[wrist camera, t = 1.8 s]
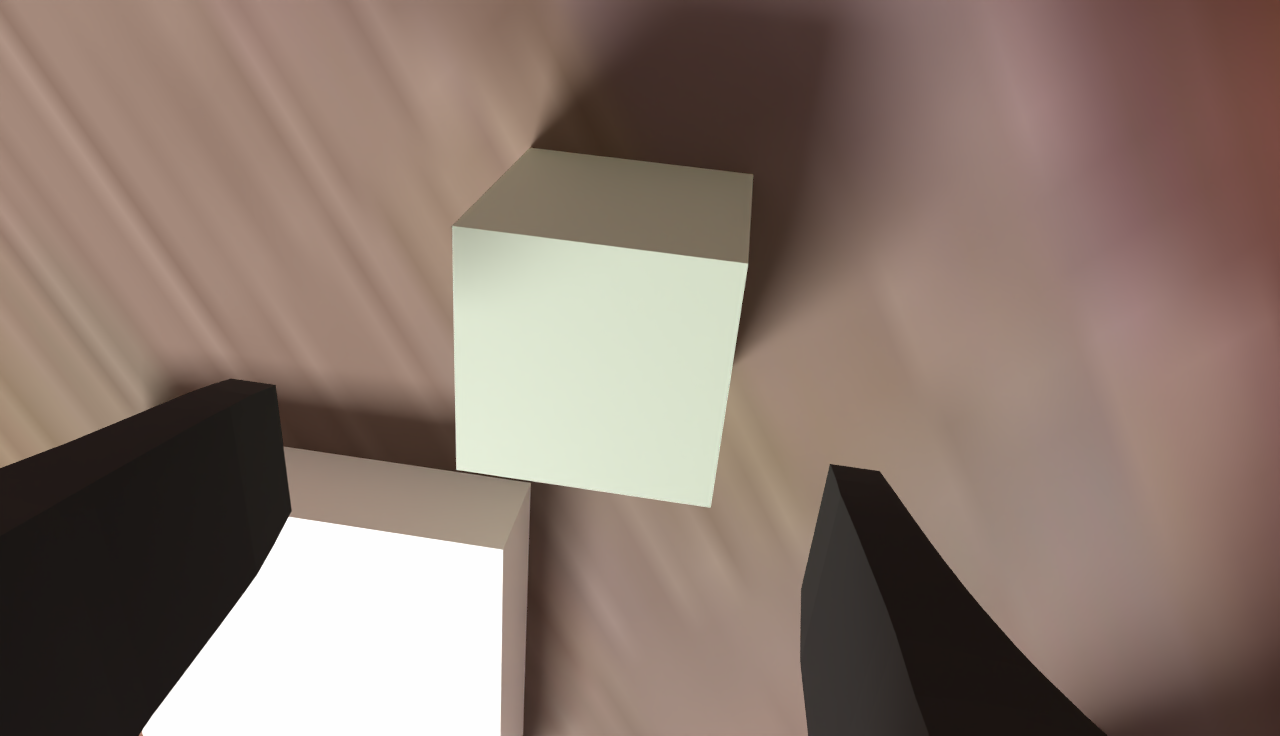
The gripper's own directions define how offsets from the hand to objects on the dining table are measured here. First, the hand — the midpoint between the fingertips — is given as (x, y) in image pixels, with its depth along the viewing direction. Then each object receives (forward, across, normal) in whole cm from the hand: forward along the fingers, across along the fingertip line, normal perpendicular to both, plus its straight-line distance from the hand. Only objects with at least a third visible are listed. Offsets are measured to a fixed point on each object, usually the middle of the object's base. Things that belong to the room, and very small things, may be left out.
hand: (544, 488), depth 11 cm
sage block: (+8, 0, 0) cm, 8 cm away
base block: (+8, +7, +11) cm, 16 cm away
